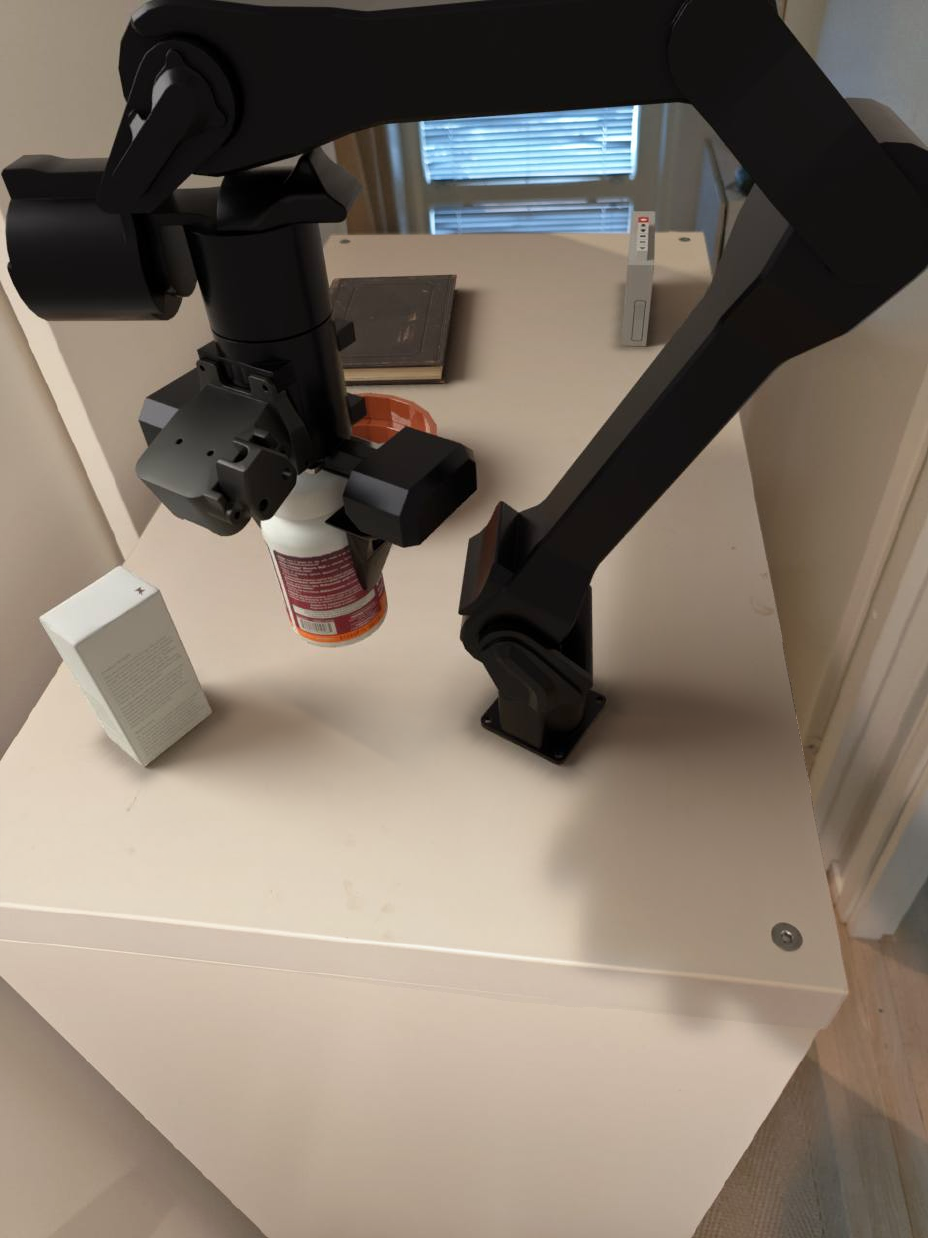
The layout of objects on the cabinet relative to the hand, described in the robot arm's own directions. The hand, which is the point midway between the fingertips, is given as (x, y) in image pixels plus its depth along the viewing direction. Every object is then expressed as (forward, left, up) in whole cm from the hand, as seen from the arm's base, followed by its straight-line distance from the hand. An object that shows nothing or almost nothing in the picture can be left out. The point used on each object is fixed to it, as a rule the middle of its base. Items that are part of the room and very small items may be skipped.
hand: (327, 568), depth 50 cm
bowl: (+20, +17, -13) cm, 29 cm away
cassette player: (+64, +10, -13) cm, 66 cm away
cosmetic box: (-9, +11, -13) cm, 19 cm away
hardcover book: (+46, +34, -13) cm, 58 cm away
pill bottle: (0, 0, -4) cm, 4 cm away
